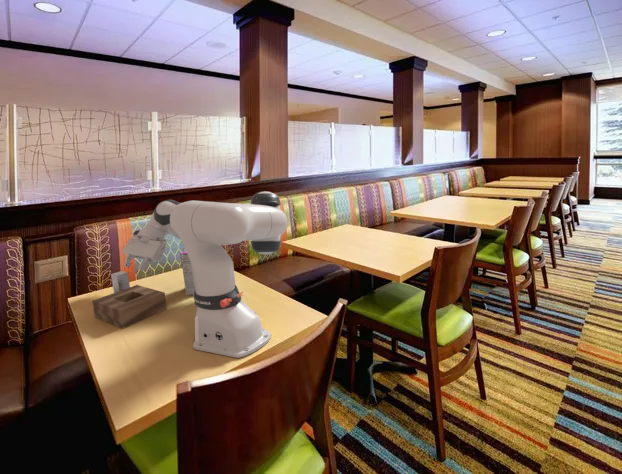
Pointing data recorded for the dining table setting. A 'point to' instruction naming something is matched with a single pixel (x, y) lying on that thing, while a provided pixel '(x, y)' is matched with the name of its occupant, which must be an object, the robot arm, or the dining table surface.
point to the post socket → (129, 305)
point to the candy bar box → (187, 274)
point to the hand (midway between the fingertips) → (133, 268)
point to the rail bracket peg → (120, 281)
